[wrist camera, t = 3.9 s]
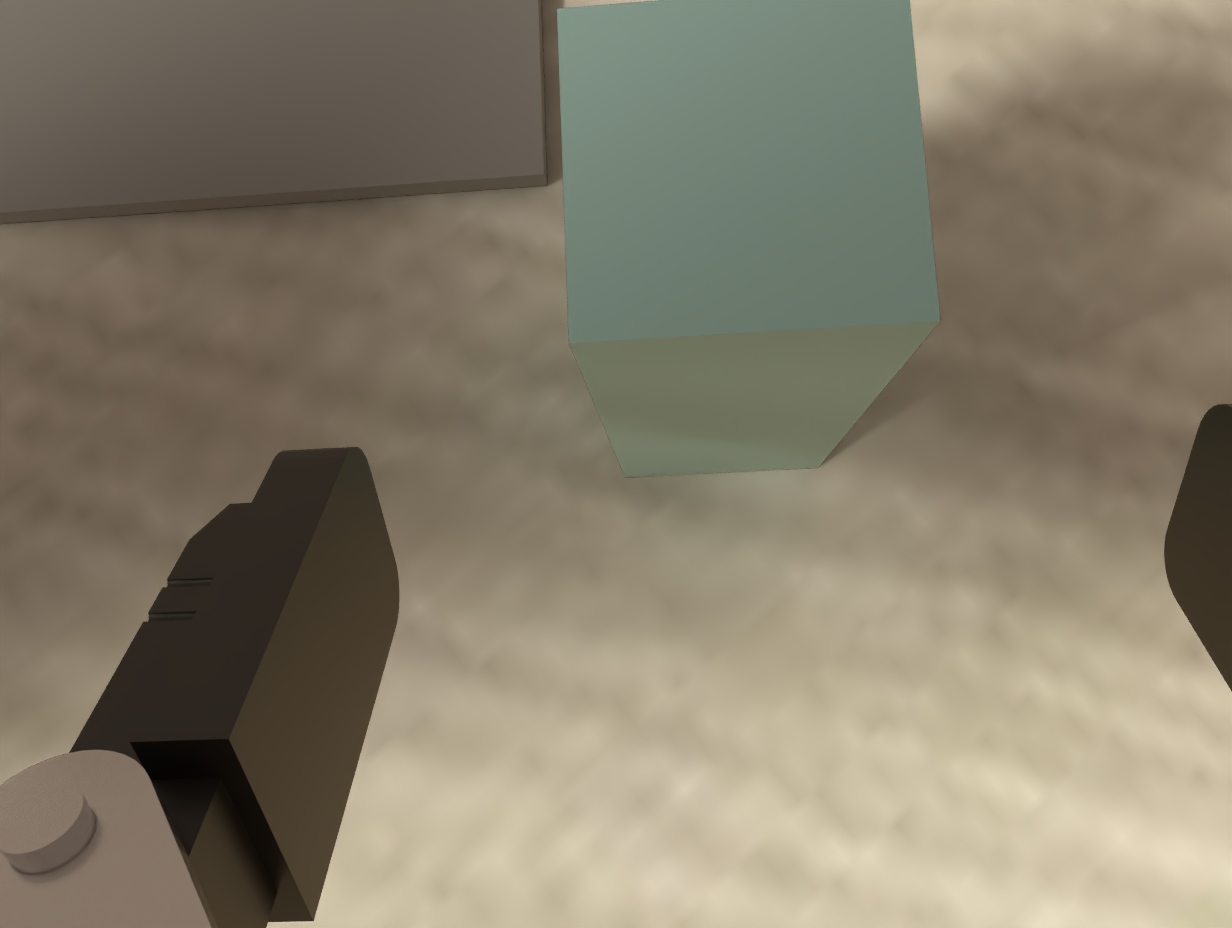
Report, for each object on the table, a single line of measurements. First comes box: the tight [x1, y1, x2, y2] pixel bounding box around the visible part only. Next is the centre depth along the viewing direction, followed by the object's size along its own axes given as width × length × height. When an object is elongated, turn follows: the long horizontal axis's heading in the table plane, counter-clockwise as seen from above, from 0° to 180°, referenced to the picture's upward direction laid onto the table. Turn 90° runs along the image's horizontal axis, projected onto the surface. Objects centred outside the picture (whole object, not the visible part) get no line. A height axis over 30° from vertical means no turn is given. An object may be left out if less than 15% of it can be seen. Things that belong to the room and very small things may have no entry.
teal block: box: [557, 0, 940, 478], centre depth 14 cm, size 4×4×9 cm
